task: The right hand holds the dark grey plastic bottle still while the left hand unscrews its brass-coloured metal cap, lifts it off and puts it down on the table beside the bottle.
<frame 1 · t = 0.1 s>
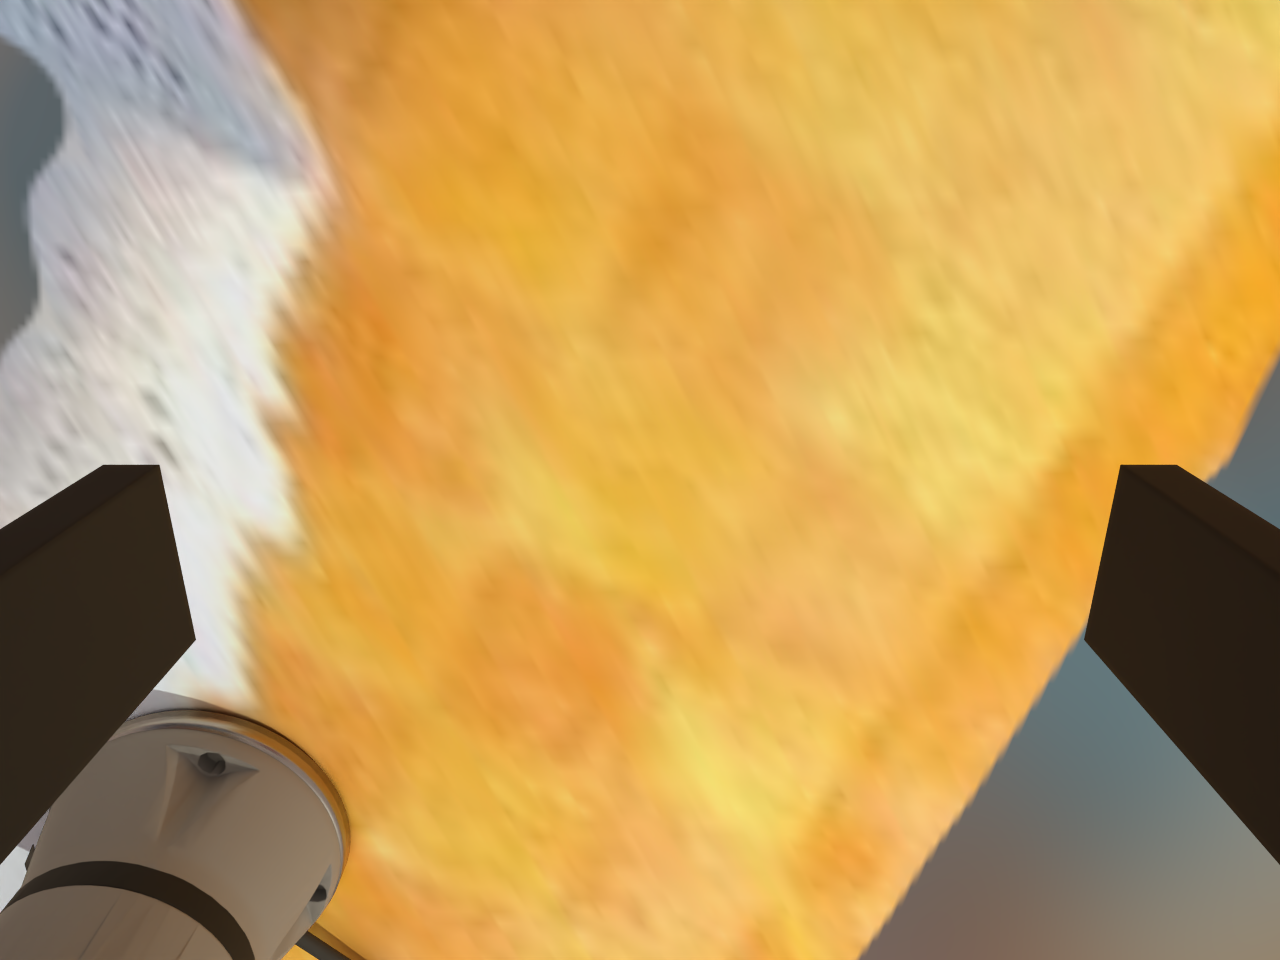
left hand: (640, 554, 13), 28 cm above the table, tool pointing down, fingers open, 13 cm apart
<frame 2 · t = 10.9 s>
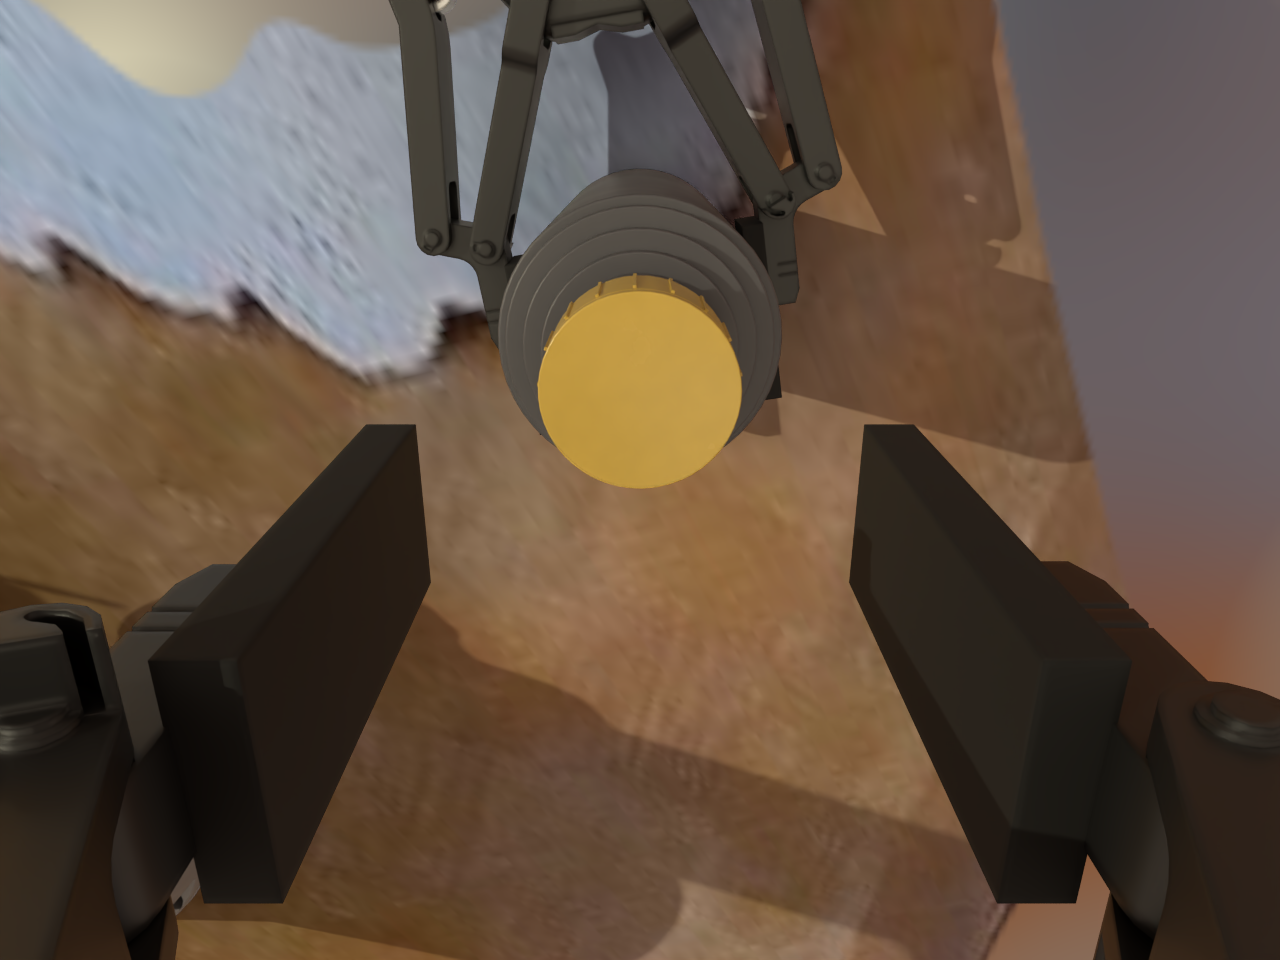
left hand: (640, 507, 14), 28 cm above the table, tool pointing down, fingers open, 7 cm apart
cap: (639, 390, 20), point 21 cm above the table, screwed on, not yet turned
bottle: (639, 262, 40), on the table, touching right hand
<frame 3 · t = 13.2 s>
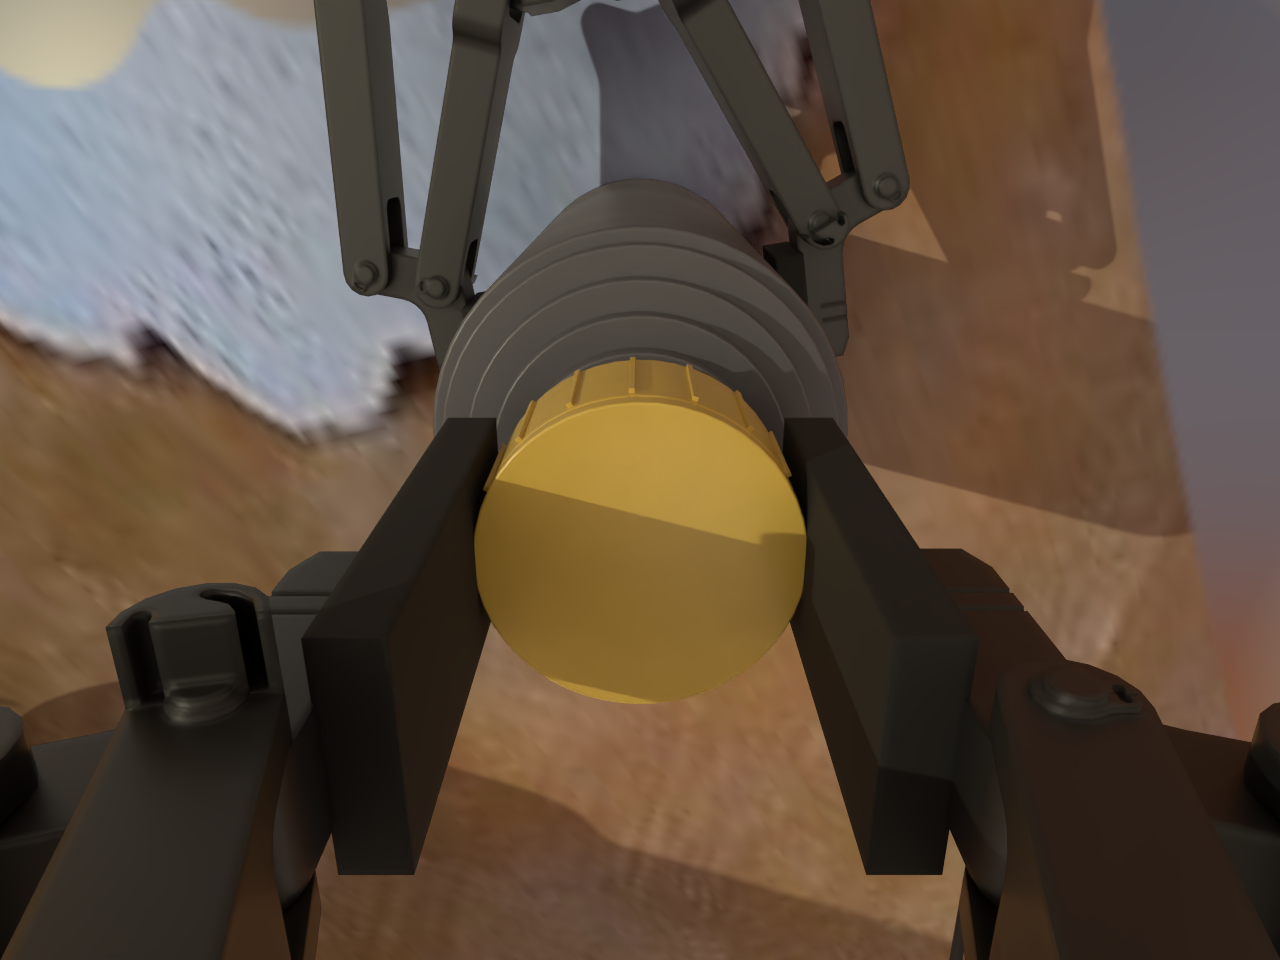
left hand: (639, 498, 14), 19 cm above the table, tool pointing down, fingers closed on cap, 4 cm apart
cap: (640, 554, 12), point 21 cm above the table, screwed on, not yet turned, touching left hand
bottle: (640, 295, 32), on the table, touching right hand
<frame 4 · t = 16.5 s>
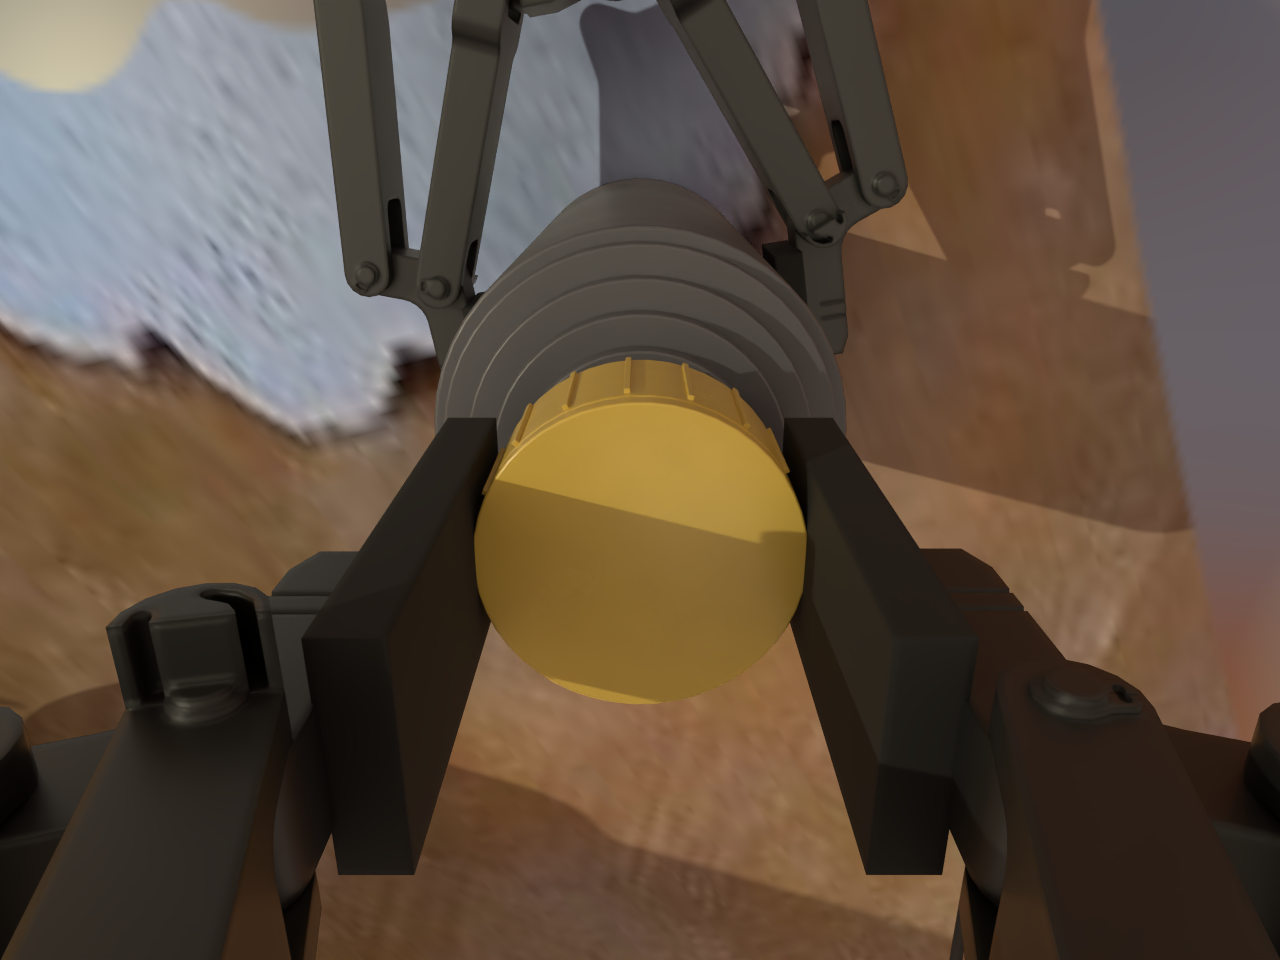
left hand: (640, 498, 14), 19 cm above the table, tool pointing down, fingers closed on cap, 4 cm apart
cap: (640, 554, 12), point 21 cm above the table, turned 107° so far, risen 0.1 cm, still on its thread, touching left hand
bottle: (640, 294, 32), on the table, touching right hand
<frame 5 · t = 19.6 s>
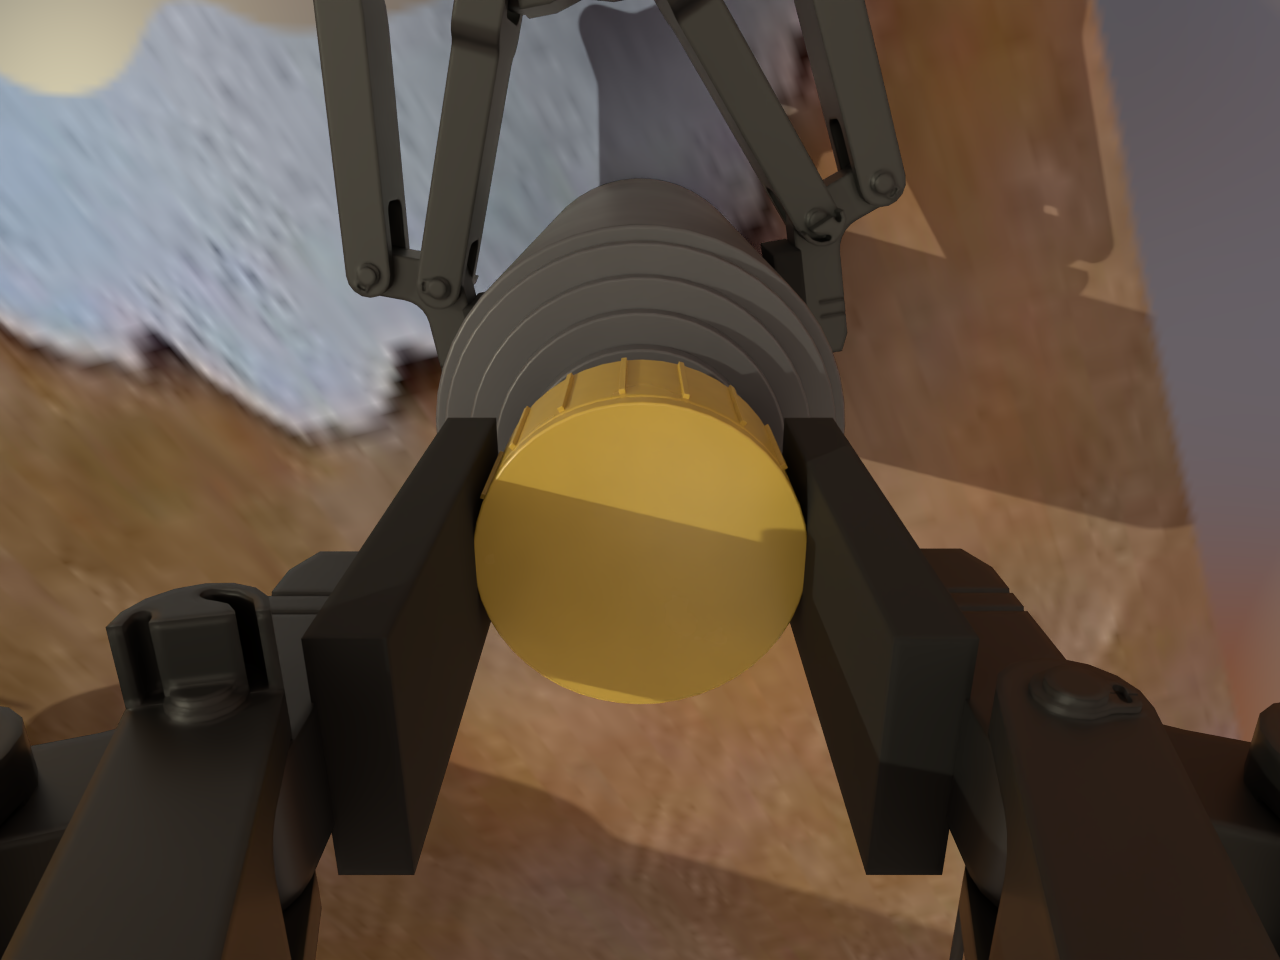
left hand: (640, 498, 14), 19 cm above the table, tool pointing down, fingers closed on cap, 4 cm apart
cap: (640, 554, 12), point 21 cm above the table, turned 214° so far, risen 0.2 cm, still on its thread, touching left hand
bottle: (640, 294, 32), on the table, touching right hand
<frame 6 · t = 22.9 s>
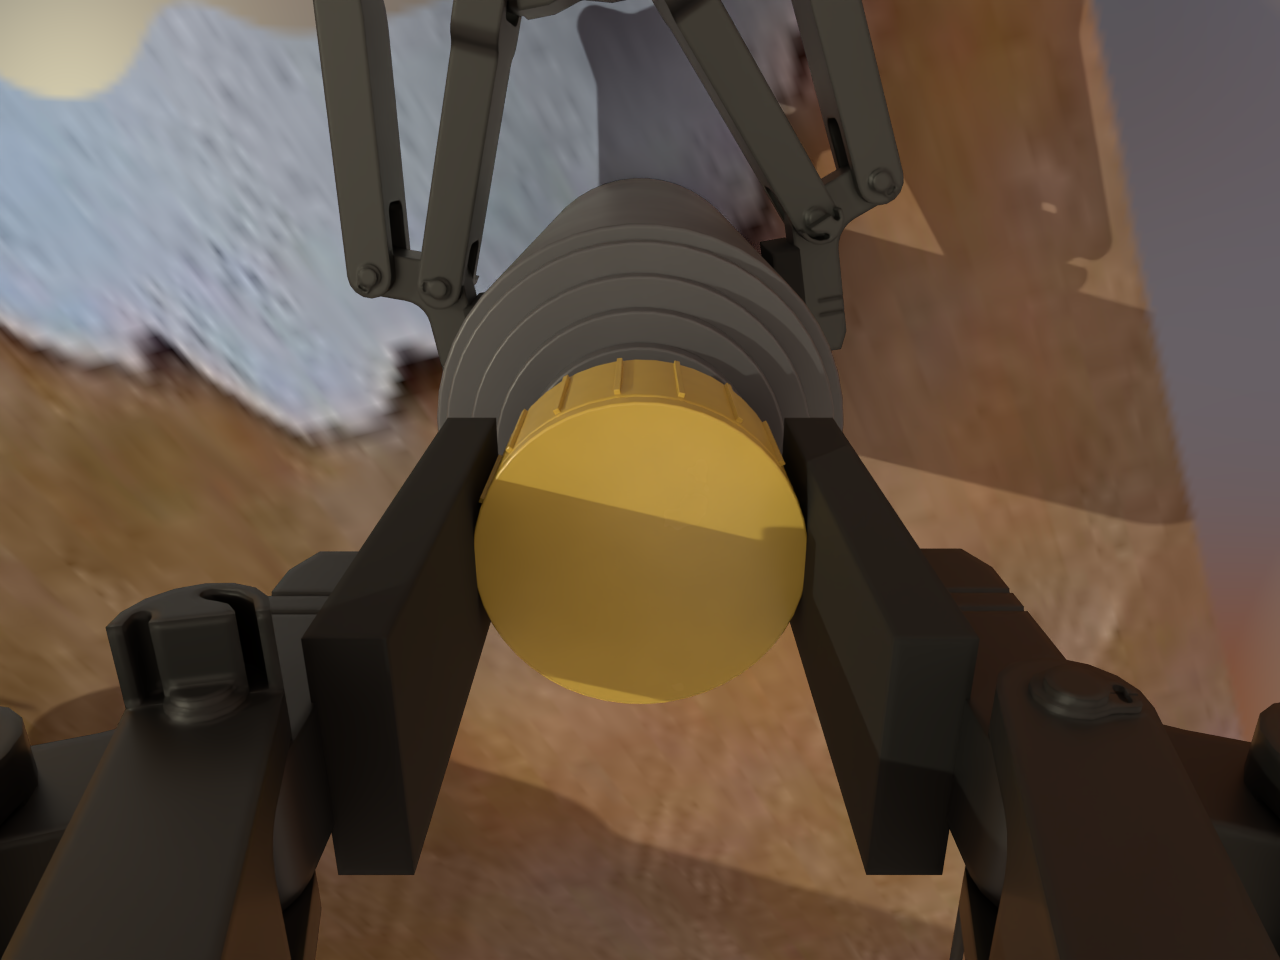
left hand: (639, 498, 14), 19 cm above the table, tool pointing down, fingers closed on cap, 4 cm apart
cap: (640, 554, 12), point 21 cm above the table, turned 321° so far, risen 0.4 cm, still on its thread, touching left hand
bottle: (640, 293, 32), on the table, touching right hand
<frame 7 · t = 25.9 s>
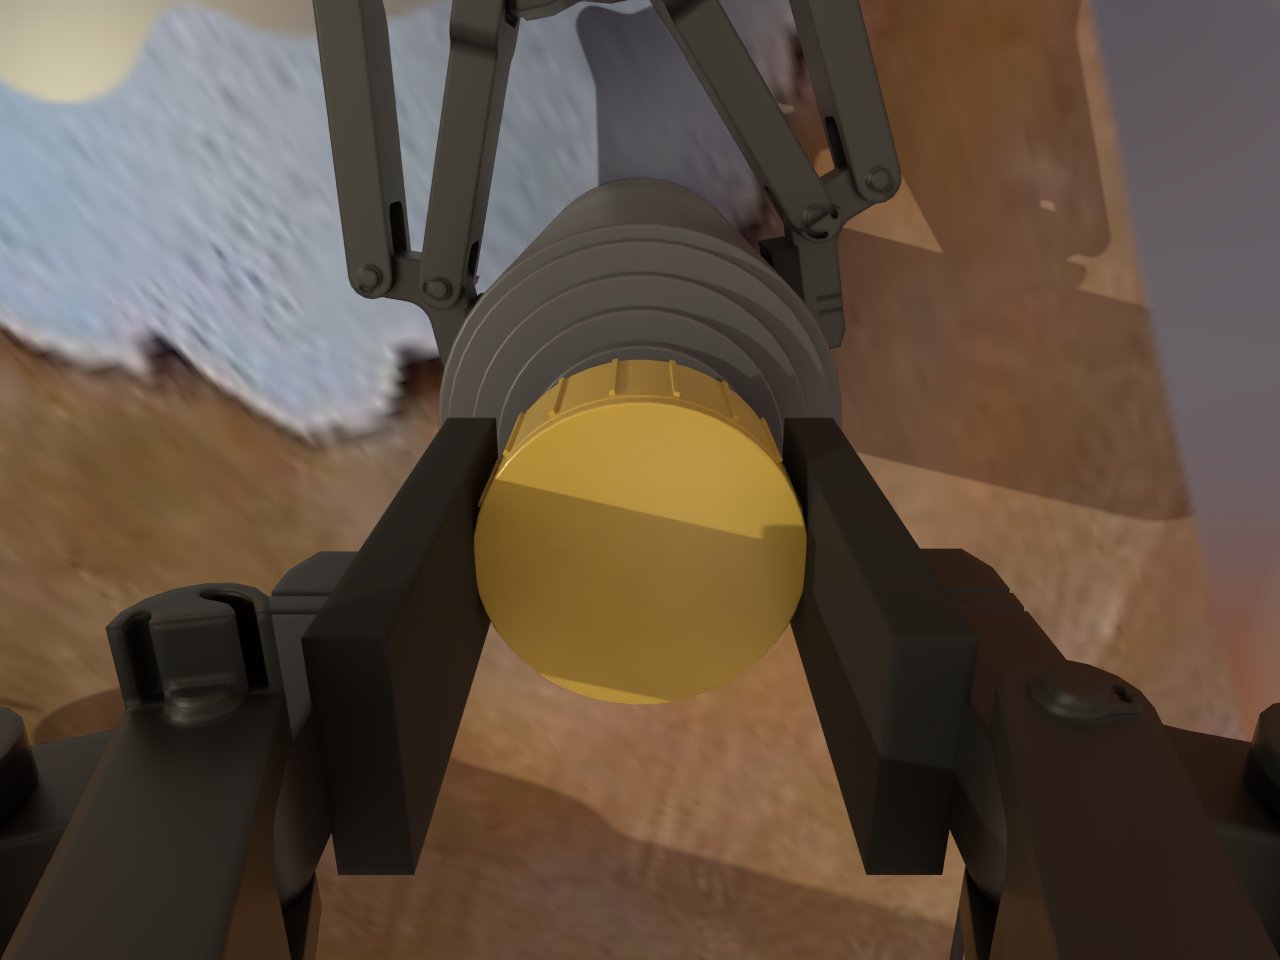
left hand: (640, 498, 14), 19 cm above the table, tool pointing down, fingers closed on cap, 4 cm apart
cap: (640, 554, 12), point 21 cm above the table, turned 429° so far, risen 0.5 cm, still on its thread, touching left hand
bottle: (640, 292, 32), on the table, touching right hand
when the left hand's fingers open (2 cm above the table, at t = 32.3 s): cap drops 2 cm, point 2 cm above the table.
when the right hand's fingers open (6 cm above the table, at t = 33.5 s): bottle stays where it is, on the table.
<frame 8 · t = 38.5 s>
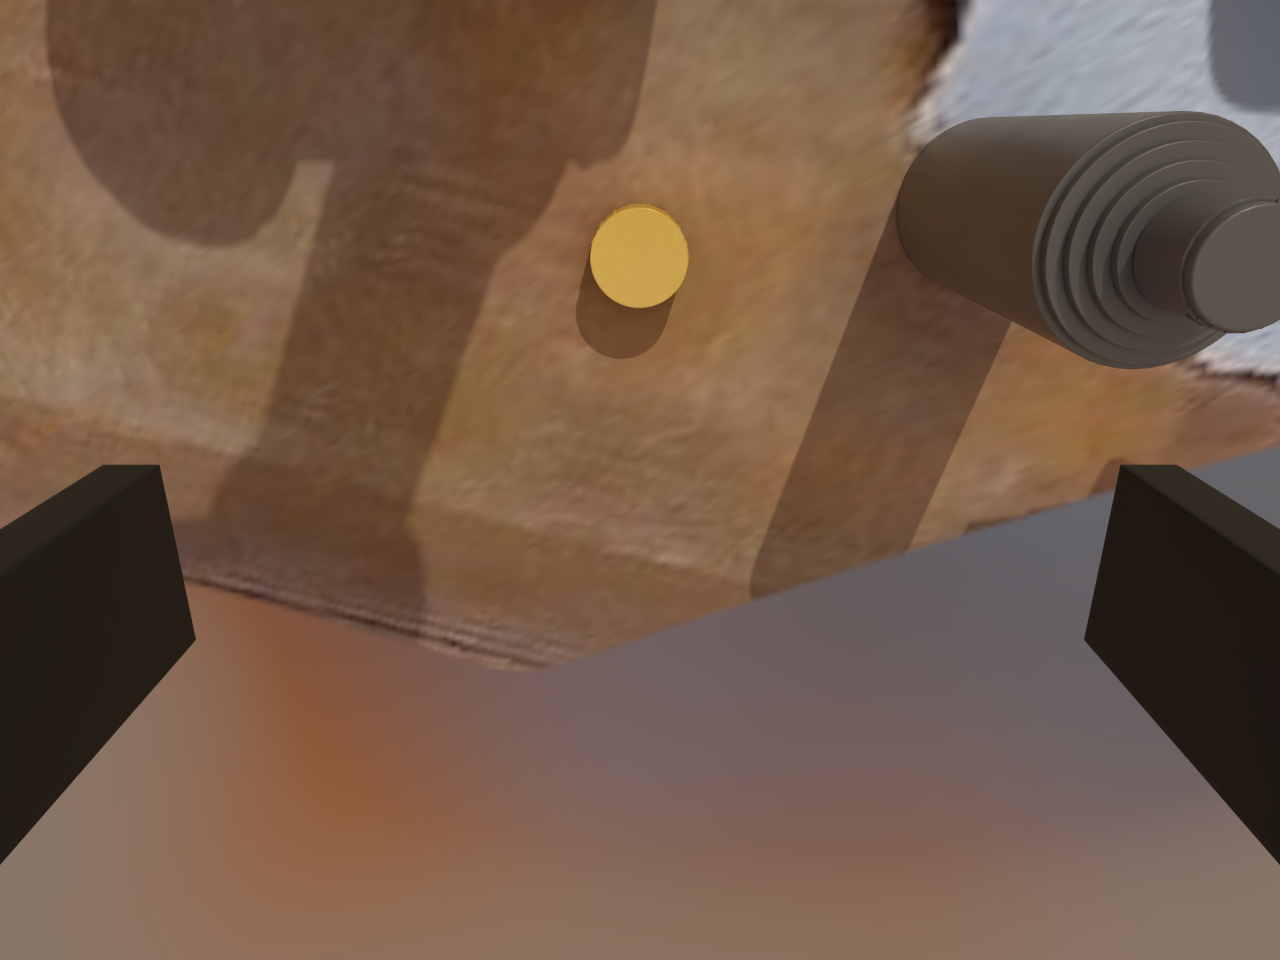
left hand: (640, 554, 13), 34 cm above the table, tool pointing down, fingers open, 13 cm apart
cap: (639, 258, 42), point 2 cm above the table, off its thread
bottle: (979, 206, 43), on the table
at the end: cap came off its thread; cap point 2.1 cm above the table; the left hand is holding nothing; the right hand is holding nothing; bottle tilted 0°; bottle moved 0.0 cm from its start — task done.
